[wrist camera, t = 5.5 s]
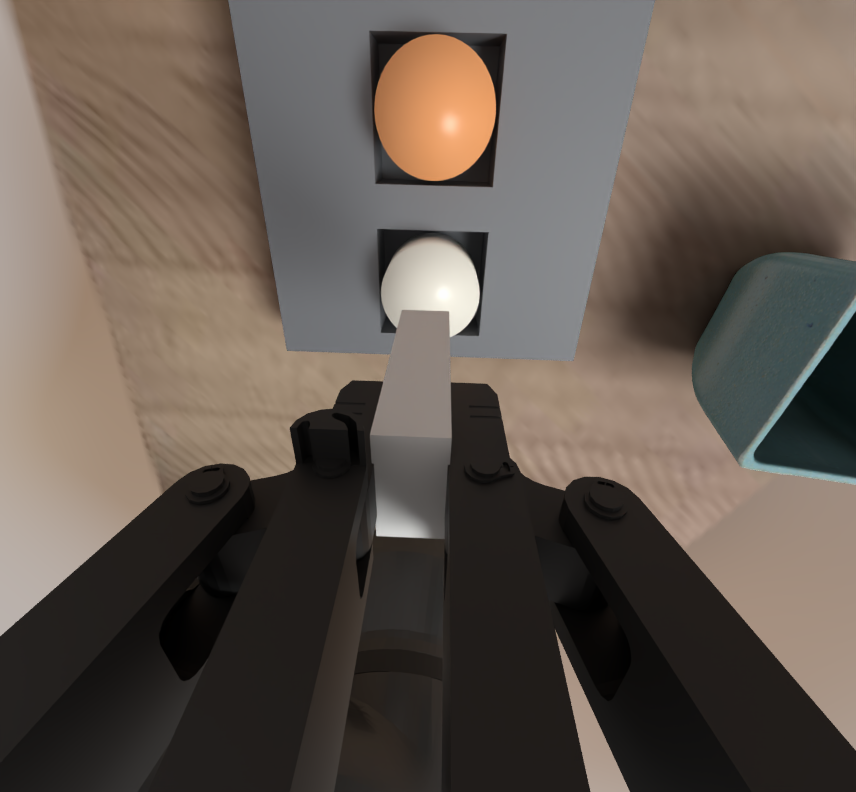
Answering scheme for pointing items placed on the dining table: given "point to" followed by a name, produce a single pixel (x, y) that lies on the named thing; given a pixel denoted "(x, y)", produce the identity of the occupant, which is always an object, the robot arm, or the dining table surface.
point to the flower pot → (784, 366)
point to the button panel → (447, 199)
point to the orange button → (435, 107)
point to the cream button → (431, 280)
